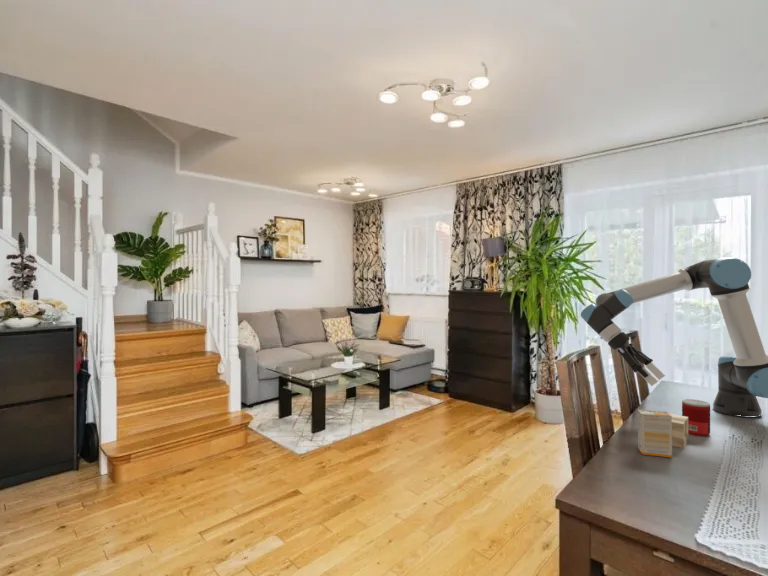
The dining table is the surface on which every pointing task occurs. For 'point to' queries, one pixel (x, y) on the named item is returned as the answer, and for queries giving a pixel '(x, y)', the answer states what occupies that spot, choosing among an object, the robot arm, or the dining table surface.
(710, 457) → the dining table surface
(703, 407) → the canned food
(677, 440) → the beech block
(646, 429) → the supplement box
